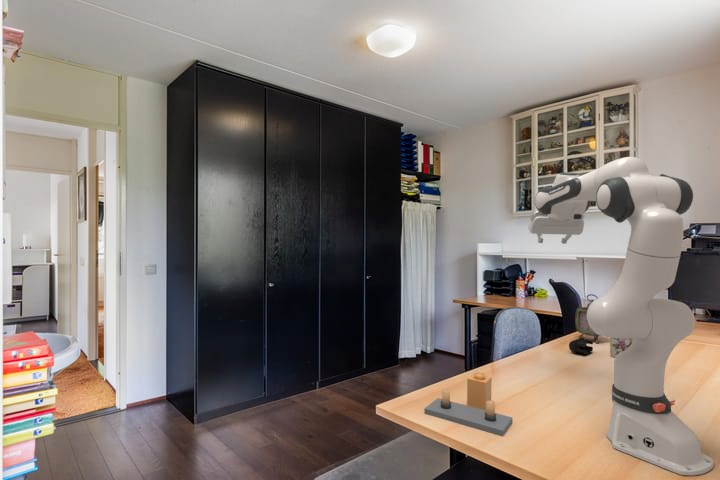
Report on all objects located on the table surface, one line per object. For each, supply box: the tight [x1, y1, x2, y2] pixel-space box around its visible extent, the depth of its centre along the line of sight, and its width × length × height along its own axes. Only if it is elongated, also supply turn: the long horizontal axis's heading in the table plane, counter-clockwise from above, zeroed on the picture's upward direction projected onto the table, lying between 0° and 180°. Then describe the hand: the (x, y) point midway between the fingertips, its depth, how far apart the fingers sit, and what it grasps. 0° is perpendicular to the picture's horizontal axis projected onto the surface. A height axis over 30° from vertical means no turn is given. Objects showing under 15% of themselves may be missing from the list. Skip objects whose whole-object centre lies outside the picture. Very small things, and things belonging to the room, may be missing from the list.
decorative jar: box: [609, 337, 634, 359], centre depth 180 cm, size 12×12×18 cm
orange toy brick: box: [466, 372, 492, 410], centre depth 129 cm, size 6×6×10 cm
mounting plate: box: [423, 389, 513, 437], centre depth 120 cm, size 24×10×6 cm, turn 54°
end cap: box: [568, 336, 594, 357], centre depth 189 cm, size 10×7×7 cm
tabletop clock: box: [574, 293, 602, 344], centre depth 212 cm, size 14×9×25 cm, turn 17°
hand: (551, 242), depth 162 cm, fingers open, 8 cm apart
